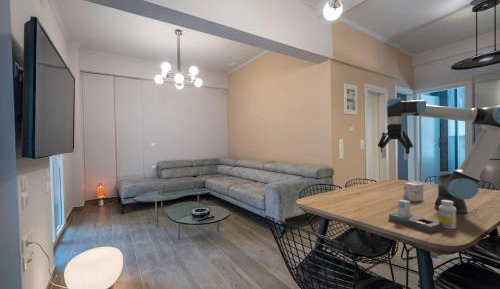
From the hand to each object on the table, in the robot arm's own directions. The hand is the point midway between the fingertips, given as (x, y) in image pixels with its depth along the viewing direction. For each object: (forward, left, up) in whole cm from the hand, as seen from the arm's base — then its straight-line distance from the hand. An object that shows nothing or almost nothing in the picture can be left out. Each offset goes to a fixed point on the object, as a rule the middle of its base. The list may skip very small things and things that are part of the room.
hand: (394, 158), depth 141 cm
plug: (+14, +14, -32) cm, 37 cm away
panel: (+14, +19, -32) cm, 40 cm away
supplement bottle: (+3, +28, -32) cm, 43 cm away
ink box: (-35, -9, -32) cm, 48 cm away
